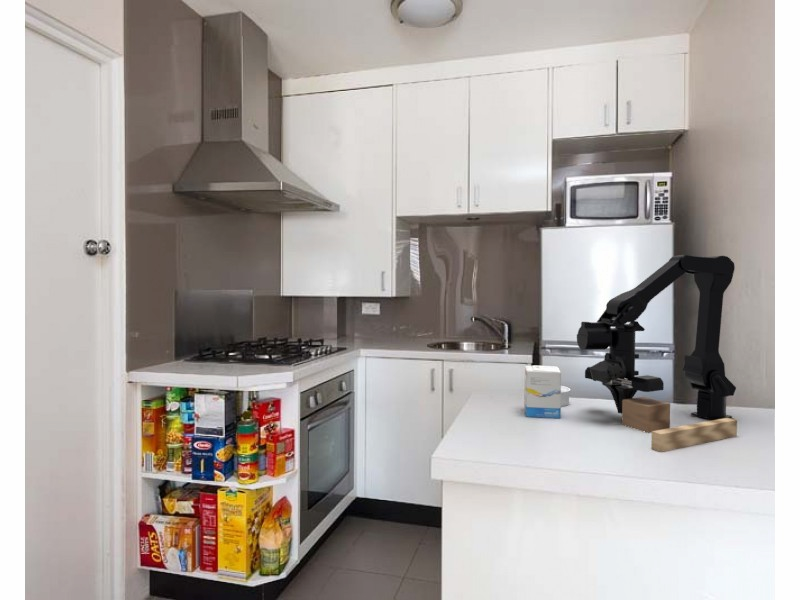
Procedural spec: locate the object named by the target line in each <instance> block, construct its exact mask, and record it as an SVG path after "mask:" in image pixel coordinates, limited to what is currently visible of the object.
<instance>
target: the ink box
mask: <svg viewBox="0 0 800 600" xmlns="http://www.w3.org/2000/svg"><path fill="white" fill-rule="evenodd" d="M561 386H562V372H561V370H560V369H559V367H558V366H556V365H555V366H553V365H535V364H534V365H524V390H523V392H524V398H523V399H524V401H523V402H524V403H523V404H524V405H523V409H524V413H525V416H526V418H528V417H529V418H544V419H545V418H547V419H561V418H562V417H561V412H562V411H561V410H562V406H561Z"/></svg>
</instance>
